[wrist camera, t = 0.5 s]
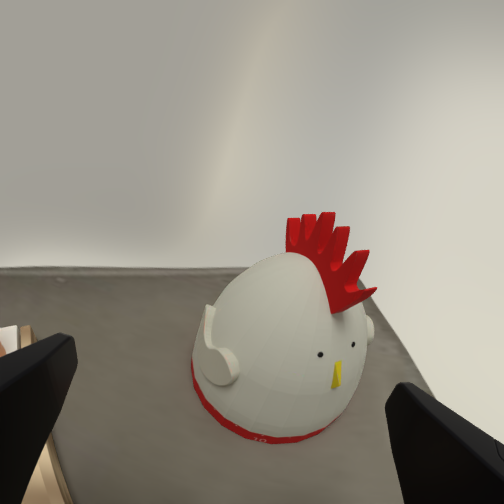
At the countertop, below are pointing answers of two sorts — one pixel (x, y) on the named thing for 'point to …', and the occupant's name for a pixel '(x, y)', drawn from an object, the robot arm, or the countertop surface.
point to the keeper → (9, 340)
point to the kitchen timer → (286, 338)
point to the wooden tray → (45, 462)
